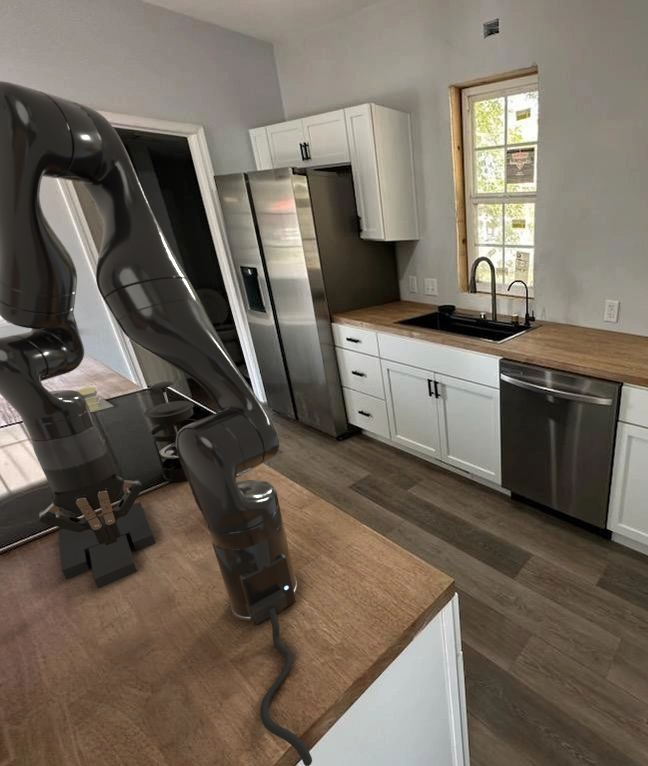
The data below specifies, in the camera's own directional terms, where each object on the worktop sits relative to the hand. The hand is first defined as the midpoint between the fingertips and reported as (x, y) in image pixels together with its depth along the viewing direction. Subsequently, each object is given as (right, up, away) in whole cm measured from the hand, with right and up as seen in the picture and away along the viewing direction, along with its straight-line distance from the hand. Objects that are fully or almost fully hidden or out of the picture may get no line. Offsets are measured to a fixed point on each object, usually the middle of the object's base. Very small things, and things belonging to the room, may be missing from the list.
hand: (111, 541), depth 72 cm
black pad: (-1, -5, +1) cm, 5 cm away
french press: (-9, +6, +28) cm, 30 cm away
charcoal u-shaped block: (-7, -2, +7) cm, 10 cm away
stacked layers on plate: (-65, +20, +60) cm, 91 cm away
